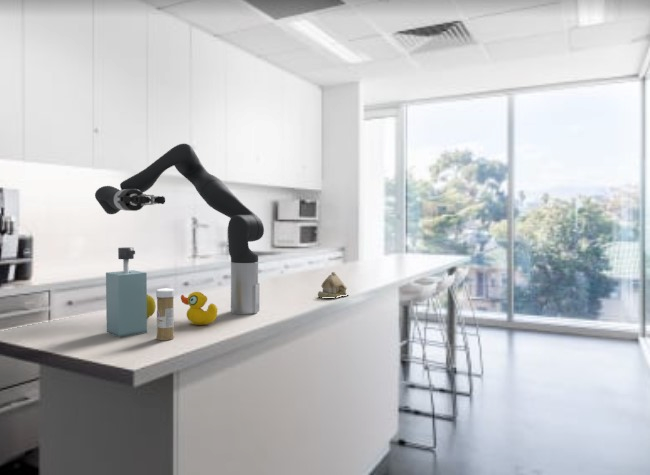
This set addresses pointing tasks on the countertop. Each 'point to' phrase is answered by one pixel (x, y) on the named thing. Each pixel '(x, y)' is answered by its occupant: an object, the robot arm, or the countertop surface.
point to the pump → (126, 257)
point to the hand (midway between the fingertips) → (151, 199)
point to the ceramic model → (332, 287)
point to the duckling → (199, 309)
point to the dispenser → (126, 303)
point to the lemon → (150, 306)
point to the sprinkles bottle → (165, 313)
